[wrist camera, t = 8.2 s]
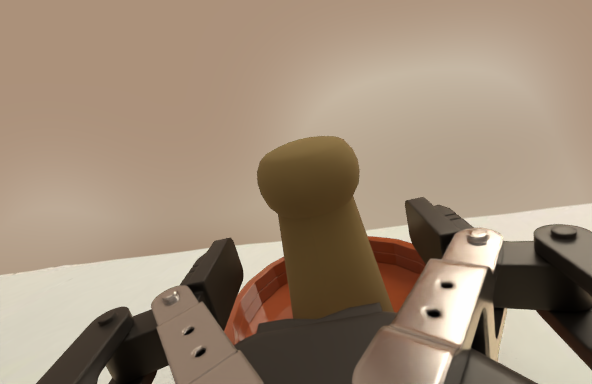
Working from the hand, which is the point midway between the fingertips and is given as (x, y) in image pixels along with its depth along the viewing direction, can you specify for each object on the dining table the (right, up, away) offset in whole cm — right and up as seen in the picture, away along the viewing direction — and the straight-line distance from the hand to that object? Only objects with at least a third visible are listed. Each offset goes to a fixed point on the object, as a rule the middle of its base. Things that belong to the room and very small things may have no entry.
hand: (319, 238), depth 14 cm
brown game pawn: (+2, -6, +4) cm, 8 cm away
